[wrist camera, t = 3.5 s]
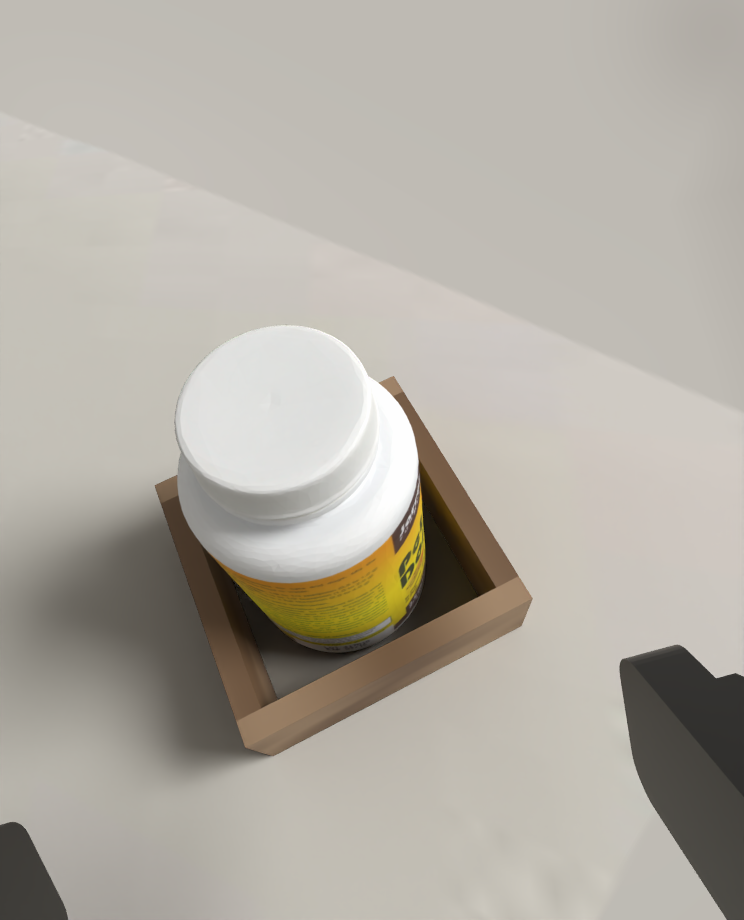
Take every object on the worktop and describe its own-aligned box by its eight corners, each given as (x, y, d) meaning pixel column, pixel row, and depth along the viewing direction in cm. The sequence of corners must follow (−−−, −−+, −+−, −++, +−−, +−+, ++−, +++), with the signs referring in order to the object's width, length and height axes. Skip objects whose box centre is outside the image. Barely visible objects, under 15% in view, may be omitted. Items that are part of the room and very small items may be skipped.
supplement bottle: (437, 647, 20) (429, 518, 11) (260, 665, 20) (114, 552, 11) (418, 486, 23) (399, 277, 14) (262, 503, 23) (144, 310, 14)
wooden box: (273, 755, 19) (245, 748, 16) (188, 522, 23) (154, 485, 20) (521, 625, 20) (532, 598, 17) (399, 423, 24) (393, 376, 21)
